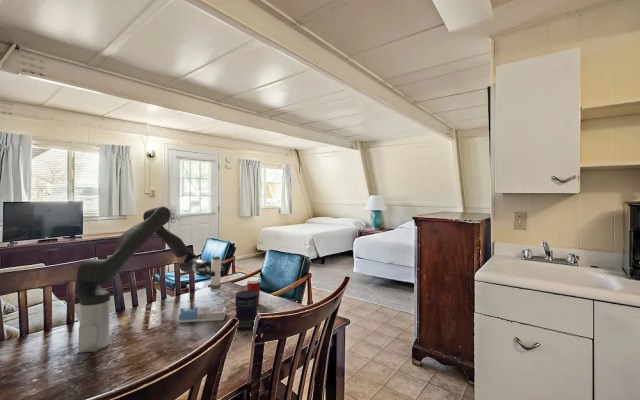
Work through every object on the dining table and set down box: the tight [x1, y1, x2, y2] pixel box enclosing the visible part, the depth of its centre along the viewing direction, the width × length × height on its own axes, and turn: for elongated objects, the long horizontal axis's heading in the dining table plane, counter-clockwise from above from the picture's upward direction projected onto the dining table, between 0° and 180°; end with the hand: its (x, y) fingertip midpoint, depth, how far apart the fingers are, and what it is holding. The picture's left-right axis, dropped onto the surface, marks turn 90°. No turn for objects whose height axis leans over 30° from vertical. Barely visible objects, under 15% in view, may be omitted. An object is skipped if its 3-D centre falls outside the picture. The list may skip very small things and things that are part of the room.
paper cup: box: [245, 277, 262, 305], centre depth 162 cm, size 8×8×14 cm
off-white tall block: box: [209, 256, 222, 292], centre depth 144 cm, size 5×5×16 cm
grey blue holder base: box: [178, 306, 227, 323], centre depth 143 cm, size 8×20×6 cm, turn 101°
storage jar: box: [235, 290, 259, 332], centre depth 134 cm, size 10×10×15 cm
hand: (218, 273), depth 142 cm, fingers closed on off-white tall block, 4 cm apart
